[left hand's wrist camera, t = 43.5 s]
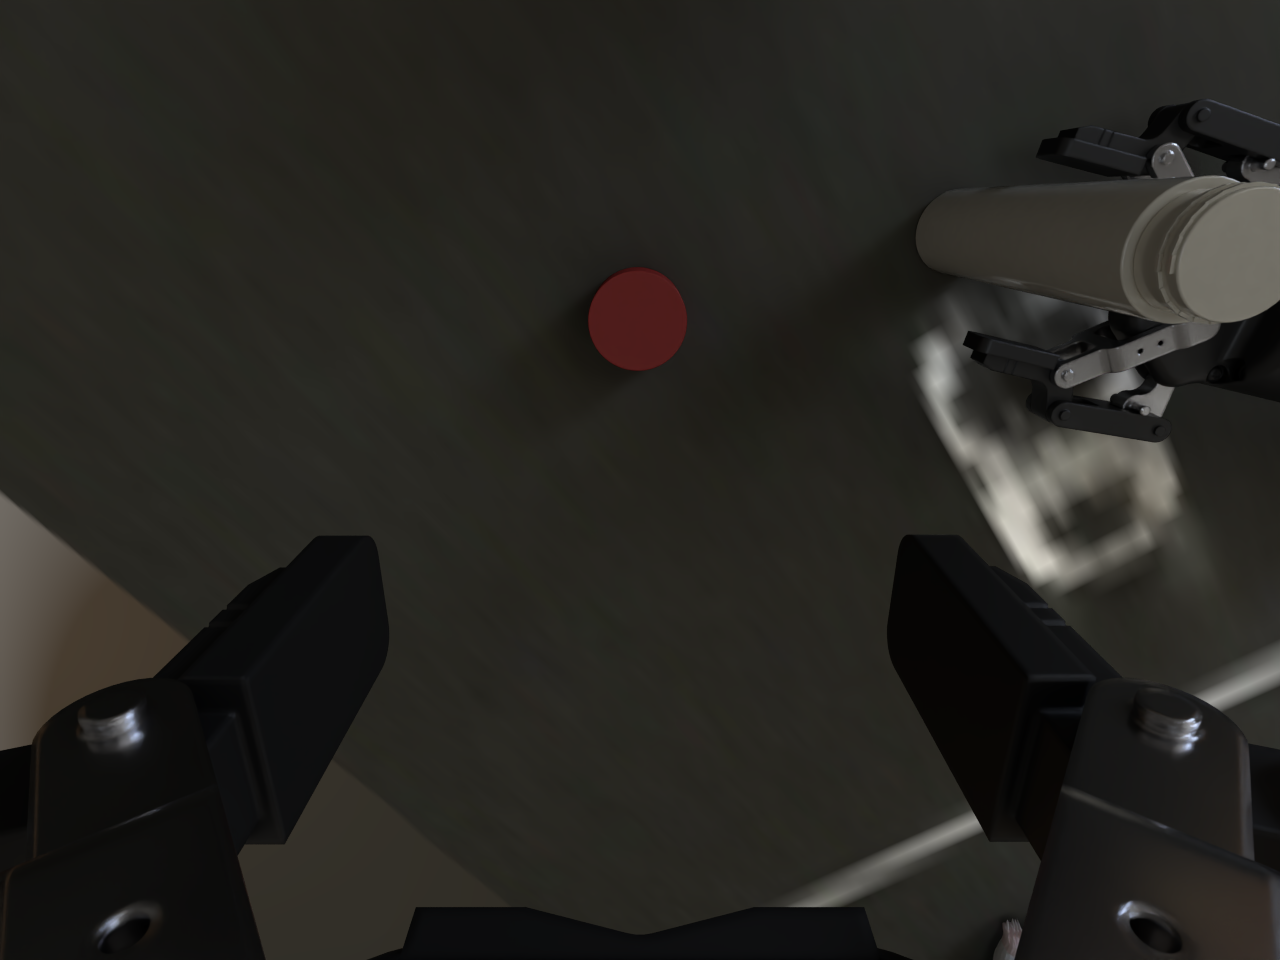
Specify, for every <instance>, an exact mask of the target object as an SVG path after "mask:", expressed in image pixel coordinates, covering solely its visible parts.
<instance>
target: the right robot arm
mask: <svg viewBox="0 0 1280 960" xmlns="http://www.w3.org/2000/svg"><path fill="white" fill-rule="evenodd" d="M1185 147H1188V148H1191V149H1194V150H1197V151H1199V152H1202V153H1205V154H1208V155H1211V156H1214V157H1216V158H1219V159H1222V160H1225V161H1226V162H1225V163H1224V164H1223V166H1222V171H1223V172H1225V173H1226V175H1227V177H1229V178H1232V179H1235V180H1237V181H1239V182H1246V183H1249V182H1259V181H1260V182H1265V183H1272V184H1277V185H1278V186H1280V125H1279V124H1277V123H1274V122H1271V121H1268V120H1266V119H1263V118H1260V117H1257V116H1254V115H1252V114H1249V113H1246V112H1243V111H1241V110H1238V109H1235V108H1232V107H1230V106H1227V105H1224V104H1221V103H1219V102H1216V101H1213V100H1210V99H1202V100H1196V101H1192V102H1190V103H1185V104H1180V105H1168V106H1162V107H1160V108H1158V109H1156V110H1155V111H1154V112H1153V113H1152V114H1151V116H1150V118H1149V121H1148V128H1147V129H1146V130H1145V132H1144V133H1143V134H1142V135H1141V136H1140V137H1139V138H1137V137H1133V136H1129V135H1126V134H1122V133H1118V132H1113V131H1111V130H1107V129H1103V128H1100V127H1096V126H1086V127H1080V128H1073V129H1068V130H1062V131H1060V133H1059V136H1058V137H1057V138H1051V139H1044V140H1042V143H1041V145H1040V148H1039V150H1038V153H1037V155H1036V157H1037V158H1039V159H1042V160H1046V161H1050V162H1053V163H1057V164H1061V165H1065V166H1069V167H1073V168H1076V169H1080V170H1084V171H1088V172H1092V173H1095V174H1099V175H1103V176H1107V177H1114V176H1121V178H1122V179H1123V180H1133V179H1152V178H1171V177H1191V176H1194V174H1193V172H1192V170H1191V168H1190V166H1189V164H1188V162H1187V160H1186V158H1185V156H1184V154H1183V152H1182V150H1183V149H1184V148H1185ZM963 345H964V346H966V347H969V348H971V349H973V352H972V355H971V357H970V358H972V359H973V360H974V361H975V362H977V363H978V364H980V365H982V366H984V367H986V368H988V369H990V370H993V371H997V372H1001V373H1006V374H1010V375H1014V376H1018V377H1023V378H1027V379H1030V380H1031V382H1032V393H1031V394H1030V395H1029V396H1028V398H1027V400H1026V407H1027V409H1028V410H1029V411H1030V412H1032V413H1034V414H1035V415H1037V416H1039V417H1041V418H1043V419H1045V420H1046V421H1048V422H1050V423H1052V424H1054V425H1056V426H1058V427H1063V428H1069V429H1075V430H1081V431H1088V432H1094V433H1100V434H1106V435H1112V436H1118V437H1124V438H1130V439H1137V440H1143V441H1149V442H1160V441H1163V440H1164V439H1166V438H1167V437H1168V436H1169V434H1170V432H1171V429H1172V426H1171V423H1170V422H1169V421H1168V420H1167V419H1164V418H1162V415H1163V413H1164V410H1165V408H1166V406H1167V404H1168V402H1169V399H1170V397H1171V395H1172V393H1173V390H1174V388H1175V387H1179V386H1183V385H1186V384H1191V383H1201V384H1206V385H1210V386H1214V387H1218V388H1222V389H1227V390H1231V391H1235V392H1239V393H1244V394H1248V395H1252V396H1256V397H1260V398H1264V399H1268V400H1273V401H1277V402H1280V300H1279V301H1278V302H1277V303H1276V304H1274V305H1273V306H1271V307H1270V308H1268V309H1267V310H1265V311H1263V312H1262V313H1260V314H1258V315H1255V316H1253V317H1251V318H1248V319H1245V320H1241V321H1236V322H1230V323H1218V324H1203V323H1197V322H1187V323H1181V324H1166V323H1160V322H1155V321H1151V320H1147V319H1142V318H1138V317H1133V316H1129V315H1124V314H1120V313H1116V312H1111V311H1109V314H1108V321H1106V322H1103V323H1101V324H1099V325H1096V326H1094V327H1091V328H1089V329H1086V330H1084V331H1082V332H1079V333H1077V334H1075V335H1073V336H1072V339H1071V340H1070V341H1068V342H1065V343H1063V344H1060V345H1058V346H1056V347H1053V348H1051V349H1048V350H1043V349H1041V348H1038V347H1035V346H1031V345H1027V344H1023V343H1019V342H1014V341H1010V340H1006V339H1002V338H998V337H993V336H989V335H985V334H981V333H977V332H972V331H968V333H967V335H966V338H965V340H964V343H963ZM1133 367H1135V368H1136V370H1137V372H1138V373H1139V374H1140V376H1142V377H1143V378H1144V379H1145V380H1144V382H1143V384H1142V385H1141V386H1140V387H1138V388H1136V389H1134V390H1125V391H1121V392H1119V393H1118V394H1113V395H1112V396H1111V398H1110V401H1111V402H1110V401H1104V400H1098V399H1092V398H1086V397H1080V396H1074V395H1073V387H1074V386H1075V385H1078V384H1080V383H1083V382H1085V381H1087V380H1090V379H1092V378H1095V377H1097V376H1100V375H1102V374H1105V373H1117V372H1122V371H1125V370H1128V369H1130V368H1133Z"/></svg>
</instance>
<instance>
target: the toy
mask: <svg viewBox="0 0 1280 960" xmlns="http://www.w3.org/2000/svg"><path fill="white" fill-rule="evenodd" d="M1017 922H1018V919H1017ZM1002 927H1003V936H1002V938H1001V940H1000V941H999V943H998V945H997V947H996V949H995V951H994V956H993V960H1014V958H1015V955H1016V951H1017V947H1018V944H1019V940H1020V936H1021V933H1022V929H1021V927H1020V924H1019V922H1018V923H1016V920H1015V922H1014V921H1013V918H1012V921H1011V922H1008V919H1007V921H1006V923H1005V922H1003V924H1002Z"/></svg>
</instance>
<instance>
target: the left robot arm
mask: <svg viewBox="0 0 1280 960" xmlns="http://www.w3.org/2000/svg"><path fill="white" fill-rule="evenodd" d="M887 641H888V649H889V654H890V658H891V661H892V664H893V666H894V668H895V670H896V672H897V673H898V675H899V677H900V679H901V681H902V682H903V684H904V686H905V688H906V690H907V692H908V693H909V695H910V697H911V699H912V701H913V703H914V704H915V706H916V708H917V710H918V712H919V714H920V715H921V717H922V719H923V721H924V723H925V724H926V726H927V728H928V730H929V732H930V734H931V735H932V737H933V739H934V741H935V743H936V745H937V746H938V748H939V750H940V752H941V754H942V756H943V757H944V759H945V761H946V763H947V765H948V766H949V768H950V770H951V772H952V774H953V776H954V777H955V779H956V781H957V783H958V785H959V787H960V788H961V790H962V792H963V794H964V796H965V798H966V799H967V801H968V803H969V805H970V807H971V808H972V810H973V812H974V814H975V816H976V818H977V819H978V821H979V823H980V825H981V827H982V829H983V830H984V832H985V834H986V836H987V838H988V840H989V841H990V842H1030V844H1031V845H1032V847H1033V849H1034V850H1035V852H1036V854H1037V855H1038V857H1039V858H1040V860H1041V863H1040V867H1039V871H1038V874H1037V878H1036V882H1035V885H1034V889H1033V893H1032V896H1031V900H1030V903H1029V907H1028V911H1027V914H1026V918H1025V922H1024V925H1023V929H1022V933H1021V936H1020V940H1019V944H1018V947H1017V951H1016V955H1015V958H1014V960H1280V750H1278V749H1273V748H1268V747H1263V746H1258V745H1253V744H1248V742H1247V739H1246V737H1245V736H1244V734H1243V732H1242V731H1241V730H1240V728H1239V727H1238V726H1237V725H1236V724H1235V723H1234V722H1233V721H1232V720H1231V719H1230V718H1229V717H1227V716H1226V715H1225V714H1223V713H1222V712H1221V711H1219V710H1218V709H1216V708H1215V707H1213V706H1212V705H1210V704H1208V703H1207V702H1205V701H1203V700H1201V699H1199V698H1197V697H1195V696H1193V695H1191V694H1188V693H1186V692H1184V691H1182V690H1179V689H1176V688H1173V687H1170V686H1167V685H1164V684H1160V683H1157V682H1152V681H1147V680H1142V679H1134V678H1122V677H1121V676H1120V675H1119V674H1118V673H1117V672H1116V671H1115V670H1114V669H1113V668H1112V667H1111V666H1110V665H1109V664H1108V663H1107V662H1106V661H1105V660H1104V659H1103V658H1102V657H1101V656H1100V655H1099V654H1098V653H1097V652H1096V651H1095V650H1094V649H1093V648H1092V647H1091V646H1090V645H1089V644H1088V643H1087V642H1086V641H1085V640H1084V639H1083V638H1082V637H1081V636H1080V635H1079V634H1078V633H1077V632H1076V631H1075V630H1074V629H1073V628H1072V627H1071V626H1066V625H1065V621H1064V620H1063V619H1062V618H1061V617H1060V616H1059V615H1058V614H1057V613H1056V612H1055V611H1054V610H1053V609H1052V608H1048V604H1047V603H1046V602H1045V601H1044V600H1043V599H1042V598H1041V597H1040V596H1039V595H1038V594H1037V593H1036V592H1035V591H1034V590H1033V589H1032V588H1031V587H1030V586H1029V585H1028V584H1027V583H1025V582H1023V581H1021V580H1019V579H1018V578H1016V577H1014V576H1012V575H1010V574H1008V573H1007V572H1005V571H1003V570H1001V569H999V568H998V567H996V566H988V564H987V563H986V562H985V561H984V560H983V559H982V558H981V557H980V556H979V555H978V554H977V553H976V552H975V551H974V550H973V549H972V548H971V547H970V546H969V545H968V544H967V543H966V542H965V541H964V540H963V538H961V537H960V536H959V535H906V536H904V537H903V539H902V540H901V543H900V546H899V550H898V555H897V562H896V569H895V576H894V583H893V590H892V597H891V603H890V610H889V617H888V625H887ZM388 645H389V624H388V617H387V610H386V604H385V597H384V590H383V583H382V577H381V570H380V563H379V556H378V551H377V547H376V544H375V542H374V540H373V539H372V538H371V537H370V536H317V537H315V538H314V539H313V540H312V541H311V542H310V543H309V544H308V545H307V546H306V547H305V548H304V549H303V550H302V551H301V552H300V554H299V555H298V556H297V557H296V558H295V559H294V560H293V561H292V562H291V563H290V564H289V565H288V566H287V567H286V568H278V569H276V570H275V571H273V572H271V573H269V574H267V575H266V576H264V577H262V578H260V579H258V580H256V581H255V582H253V583H251V584H249V585H248V586H247V587H246V588H245V589H243V590H242V591H241V592H240V593H239V594H238V595H237V596H236V597H235V598H234V599H233V600H232V601H231V602H230V603H229V604H228V605H227V610H222V611H221V612H220V613H219V614H218V615H217V616H216V617H215V618H214V619H213V620H212V621H211V622H210V623H209V627H204V628H203V629H202V630H201V631H200V632H199V633H198V634H197V635H196V636H195V637H194V638H193V639H192V640H191V641H190V642H189V643H188V644H187V645H186V646H185V647H184V648H183V649H182V650H181V651H180V652H179V653H178V654H177V655H176V656H175V657H174V658H173V659H172V660H171V661H170V662H169V663H168V664H167V665H166V666H164V667H163V668H162V669H161V670H160V671H159V672H158V673H157V674H156V675H155V676H154V677H153V678H146V679H138V680H133V681H128V682H124V683H120V684H116V685H113V686H110V687H107V688H104V689H101V690H98V691H96V692H94V693H92V694H89V695H87V696H85V697H83V698H81V699H79V700H77V701H75V702H73V703H72V704H70V705H68V706H67V707H65V708H64V709H62V710H61V711H59V712H58V713H57V714H55V715H54V716H53V717H51V718H50V719H49V720H48V721H47V722H46V723H45V724H44V725H43V726H42V727H41V728H40V730H39V731H38V732H37V734H36V736H35V737H34V739H33V742H32V745H27V746H22V747H17V748H12V749H7V750H2V751H0V960H266V958H265V955H264V951H263V947H262V944H261V940H260V936H259V933H258V929H257V926H256V922H255V918H254V914H253V911H252V907H251V903H250V900H249V896H248V893H247V889H246V885H245V882H244V878H243V874H242V871H241V867H240V863H239V860H238V854H239V852H240V851H241V849H242V848H243V846H244V844H285V843H286V841H287V839H288V837H289V835H290V834H291V832H292V830H293V828H294V826H295V825H296V823H297V821H298V819H299V817H300V815H301V814H302V812H303V810H304V808H305V806H306V805H307V803H308V801H309V799H310V797H311V796H312V794H313V792H314V790H315V789H316V787H317V785H318V783H319V781H320V779H321V778H322V776H323V774H324V772H325V770H326V769H327V767H328V765H329V763H330V761H331V760H332V758H333V756H334V754H335V752H336V751H337V749H338V747H339V745H340V743H341V742H342V740H343V738H344V736H345V734H346V733H347V731H348V729H349V727H350V725H351V724H352V722H353V720H354V718H355V716H356V715H357V713H358V711H359V709H360V707H361V706H362V704H363V702H364V700H365V698H366V697H367V695H368V693H369V691H370V689H371V687H372V686H373V684H374V682H375V680H376V678H377V677H378V675H379V673H380V671H381V669H382V667H383V665H384V663H385V660H386V656H387V651H388ZM368 960H912V959H909V958H907V957H904V956H901V955H899V954H896V953H893V952H890V951H886V950H883V949H879V948H877V946H876V943H875V940H874V937H873V934H872V931H871V927H870V924H869V921H868V918H867V915H866V912H865V909H864V907H753V908H749V909H745V910H741V911H738V912H734V913H730V914H726V915H722V916H718V917H714V918H710V919H706V920H702V921H699V922H695V923H691V924H687V925H683V926H679V927H675V928H671V929H667V930H664V931H660V932H656V933H652V934H646V935H634V934H628V933H624V932H620V931H616V930H613V929H609V928H605V927H601V926H597V925H593V924H589V923H585V922H581V921H578V920H574V919H570V918H566V917H562V916H558V915H554V914H550V913H546V912H542V911H539V910H535V909H531V908H527V907H416V909H415V912H414V915H413V918H412V921H411V924H410V927H409V931H408V934H407V937H406V940H405V943H404V946H403V948H401V949H397V950H394V951H390V952H387V953H384V954H382V955H379V956H376V957H373V958H371V959H368Z"/></svg>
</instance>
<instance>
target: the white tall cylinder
mask: <svg viewBox="0 0 1280 960" xmlns="http://www.w3.org/2000/svg"><path fill="white" fill-rule="evenodd" d="M916 246H917V250H918V253H919V255H920V257H921V259H922V260H923V262H924V263H925V264H926V265H927V266H928V267H930V268H931V269H933V270H934V271H937V272H939V273H943V274H947V275H952V276H956V277H961V278H965V279H970V280H974V281H978V282H983V283H987V284H992V285H996V286H1000V287H1005V288H1009V289H1014V290H1018V291H1023V292H1027V293H1031V294H1036V295H1040V296H1045V297H1049V298H1054V299H1058V300H1062V301H1067V302H1071V303H1076V304H1080V305H1085V306H1089V307H1093V308H1098V309H1102V310H1107V311H1111V312H1116V313H1120V314H1124V315H1129V316H1133V317H1138V318H1142V319H1147V320H1151V321H1155V322H1160V323H1166V324H1181V323H1187V322H1197V323H1203V324H1218V323H1230V322H1236V321H1241V320H1245V319H1248V318H1251V317H1253V316H1255V315H1258V314H1260V313H1262V312H1263V311H1265V310H1267V309H1268V308H1270V307H1271V306H1273V305H1274V304H1276V303H1277V302H1278V301H1279V300H1280V186H1278V185H1277V184H1272V183H1265V182H1260V181H1259V182H1249V183H1246V182H1239V181H1237V180H1235V179H1232V178H1229V177H1225V176H1216V175H1210V176H1191V177H1171V178H1152V179H1133V180H1113V181H1094V182H1074V183H1055V184H1036V185H1016V186H997V187H977V188H958V189H953V190H950V191H947V192H945V193H943V194H941V195H940V196H938V197H937V198H935V199H934V200H933V201H932V202H931V203H930V204H929V205H928V206H927V208H926V209H925V210H924V212H923V214H922V215H921V217H920V220H919V222H918V225H917V230H916Z"/></svg>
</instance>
